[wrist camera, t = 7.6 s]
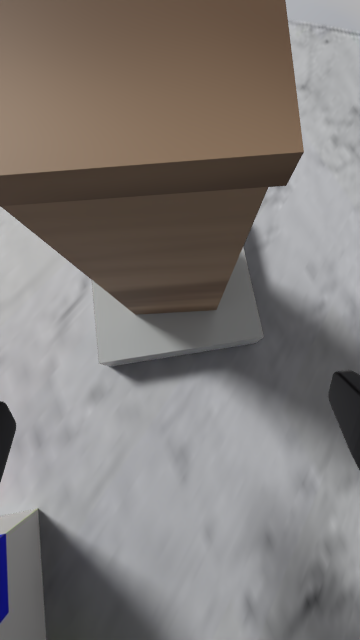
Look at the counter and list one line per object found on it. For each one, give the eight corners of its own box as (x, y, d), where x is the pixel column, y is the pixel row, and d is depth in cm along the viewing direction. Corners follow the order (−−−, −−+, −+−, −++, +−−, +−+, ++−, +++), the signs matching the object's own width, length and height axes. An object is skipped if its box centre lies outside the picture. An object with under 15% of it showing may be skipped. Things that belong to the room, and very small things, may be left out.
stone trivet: (253, 344, 20) (263, 337, 18) (111, 367, 20) (98, 363, 17) (225, 219, 23) (231, 194, 20) (99, 239, 23) (85, 216, 20)
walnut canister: (219, 313, 18) (303, 152, 4) (132, 318, 18) (-62, 180, 4) (214, 229, 19) (268, -137, 5) (130, 235, 19) (-41, -101, 5)
